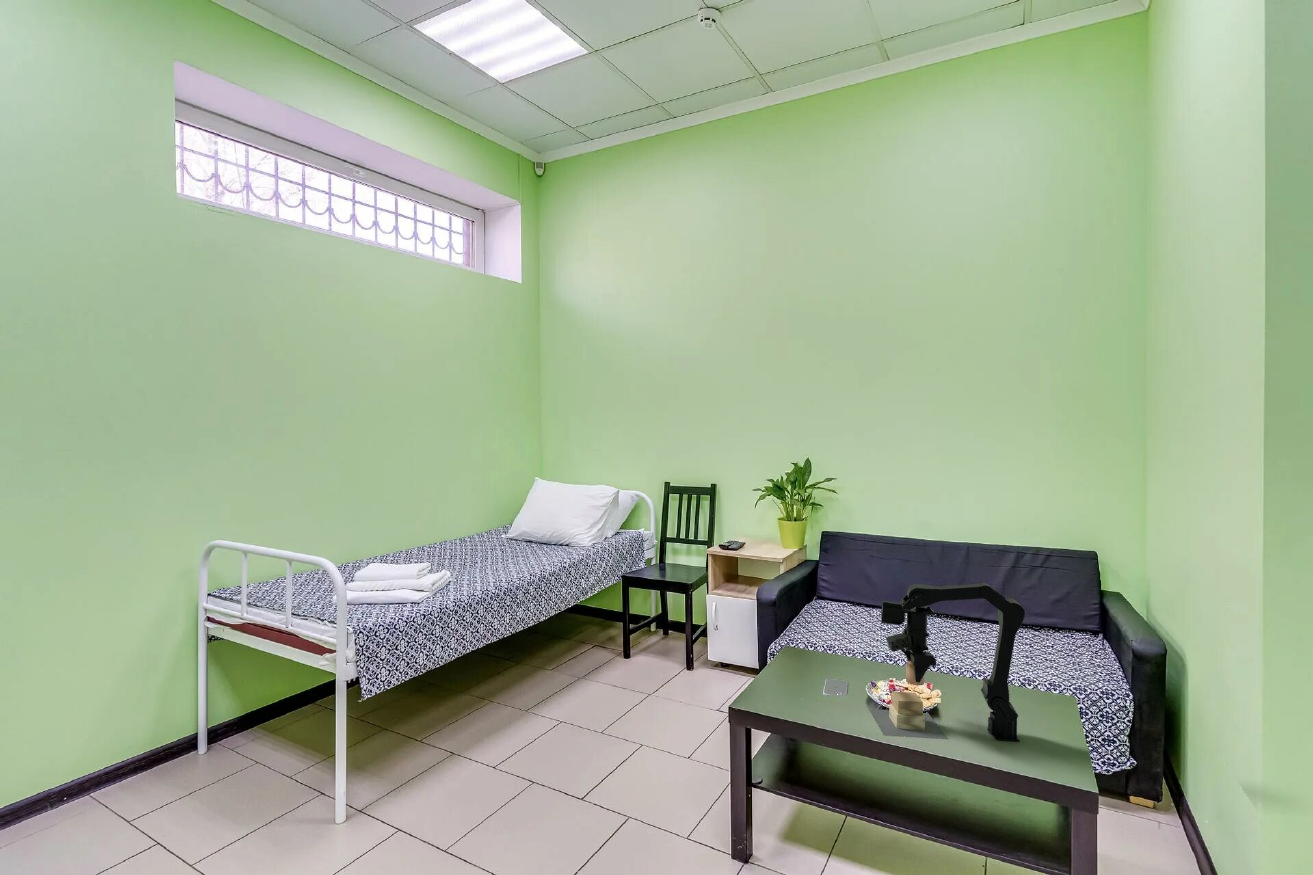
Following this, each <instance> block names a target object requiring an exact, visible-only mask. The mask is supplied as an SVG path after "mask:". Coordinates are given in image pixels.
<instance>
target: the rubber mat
mask: <svg viewBox="0 0 1313 875" xmlns="http://www.w3.org/2000/svg"><path fill="white" fill-rule="evenodd" d="M868 711H869V712H870V713H871V716H872V718H873V719H874V721H875V723H876V724H877V727H878V728H879V729H880V732H881V733H882V735H883V736H887V737H889V736H890V737H902V736H903V738H904V736H905V737H906V738H917V739H918V738H920V739H921V738H922V739H934V740H935V739H937V740H939V739H940V740H949V738H948V736H947V735H946V734H945V733H944V731H943V730H942V729H941V727H940V726H939V725H938V724H937V722H936V721H935V719H933V717H932V716H931V715H930V714H929V712H927V711H926V713H923V715H924V716H925V730H914V729H897V728H896V726H895V725H894V723H893V722H892V720H891V719H890V717H889V709H874V708H869V709H868Z"/></svg>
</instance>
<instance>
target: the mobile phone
mask: <svg viewBox="0 0 1313 875" xmlns="http://www.w3.org/2000/svg"><path fill="white" fill-rule="evenodd" d="M848 685H849V681H847V680H841V679H835V678H826V679H825V682H824V687H823V692H822V693H823V695H824V696H828V695H832V696H837V697H846V696H847V695H848Z"/></svg>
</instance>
